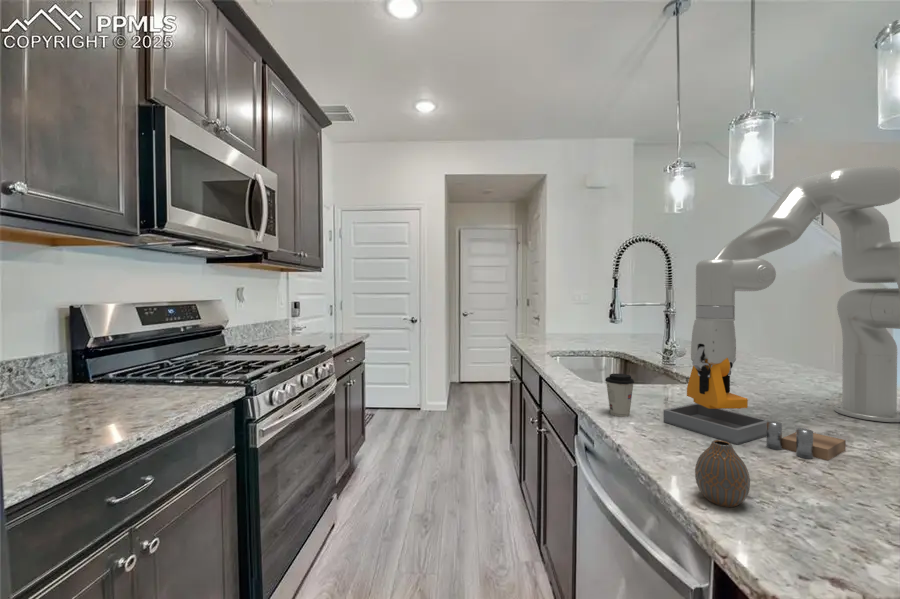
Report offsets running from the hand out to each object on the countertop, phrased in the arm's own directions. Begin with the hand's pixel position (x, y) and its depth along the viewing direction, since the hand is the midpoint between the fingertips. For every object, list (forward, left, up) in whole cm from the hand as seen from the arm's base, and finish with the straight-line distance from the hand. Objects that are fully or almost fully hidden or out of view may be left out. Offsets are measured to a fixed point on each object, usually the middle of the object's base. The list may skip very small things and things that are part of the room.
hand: (714, 392), depth 94 cm
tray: (0, 0, -8) cm, 8 cm away
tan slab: (-4, +17, -9) cm, 19 cm away
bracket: (-1, 0, -3) cm, 3 cm away
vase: (+32, +20, -8) cm, 39 cm away
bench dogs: (+1, +15, -8) cm, 17 cm away
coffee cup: (+10, -18, -8) cm, 22 cm away
